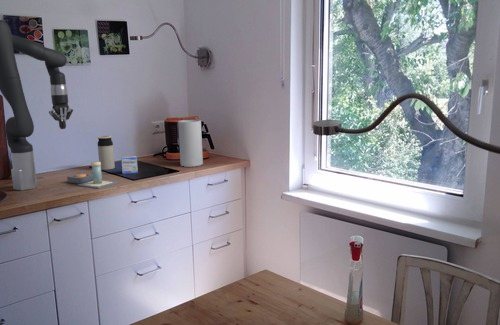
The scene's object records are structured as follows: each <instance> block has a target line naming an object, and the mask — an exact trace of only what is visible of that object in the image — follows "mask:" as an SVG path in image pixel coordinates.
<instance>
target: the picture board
mask: <svg viewBox="0 0 500 325" xmlns="http://www.w3.org/2000/svg"><path fill="white" fill-rule="evenodd" d="M117 184H119V182H118V181H113V180H107V179H106V180H105V179H102V183H101V184H93V181H89V182H85V183H82V184H77V186H78V187H83V188H89V189H96V188H97V189H98V190H99V188H100V189H102V188H106V186H107V187H110V186H113V185H117ZM97 189H96V190H97Z"/></svg>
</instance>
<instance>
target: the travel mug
mask: <svg viewBox="0 0 500 325" xmlns="http://www.w3.org/2000/svg"><path fill="white" fill-rule="evenodd" d="M97 139H98V140H97V151H98V162H101V171H111V170H114V169H115V167H116V166H115V164H116V163H115V153H114V142H113V140H112V135H100V136H97Z"/></svg>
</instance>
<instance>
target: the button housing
mask: <svg viewBox="0 0 500 325" xmlns="http://www.w3.org/2000/svg"><path fill="white" fill-rule="evenodd" d="M78 174H86V176H84V177H76V175H78ZM66 179H67V184H68V183H69V184H75V185H78V184H82V183H85V182H89V181H93V174H92V173H85V172H81V173H77V174H72V175H68V176H66Z"/></svg>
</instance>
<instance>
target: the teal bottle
mask: <svg viewBox="0 0 500 325" xmlns="http://www.w3.org/2000/svg"><path fill="white" fill-rule="evenodd" d="M91 171H92V172H91V174H93V184H101V183H102V180H103V176H102V170H101V162H99V161H93V162H92V161H91Z"/></svg>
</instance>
